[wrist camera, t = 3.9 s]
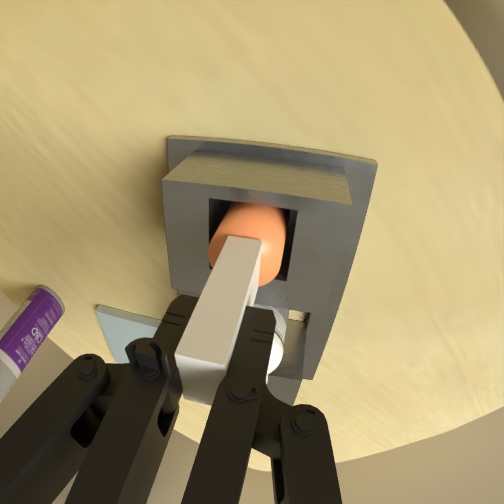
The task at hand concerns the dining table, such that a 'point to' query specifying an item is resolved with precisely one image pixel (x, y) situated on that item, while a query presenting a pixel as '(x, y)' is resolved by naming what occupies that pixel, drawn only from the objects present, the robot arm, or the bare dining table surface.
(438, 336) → the dining table surface
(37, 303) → the container
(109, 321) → the pad
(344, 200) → the housing
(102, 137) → the dining table surface
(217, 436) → the robot arm
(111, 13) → the dining table surface
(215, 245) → the orange oval piece
